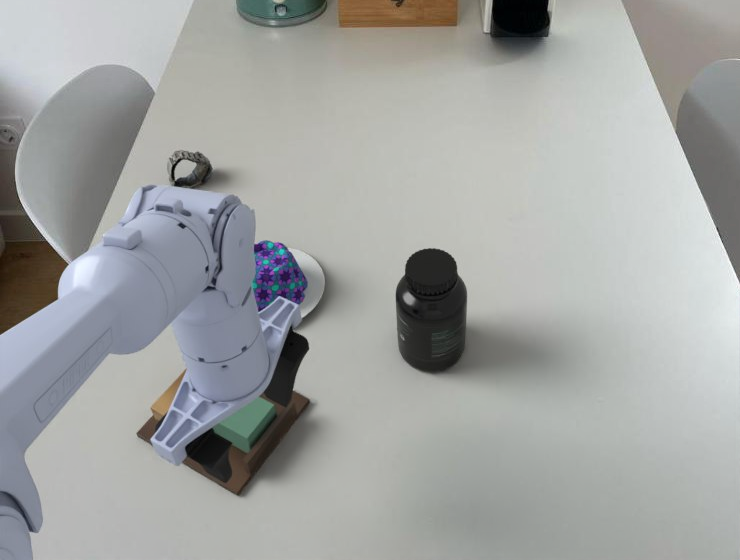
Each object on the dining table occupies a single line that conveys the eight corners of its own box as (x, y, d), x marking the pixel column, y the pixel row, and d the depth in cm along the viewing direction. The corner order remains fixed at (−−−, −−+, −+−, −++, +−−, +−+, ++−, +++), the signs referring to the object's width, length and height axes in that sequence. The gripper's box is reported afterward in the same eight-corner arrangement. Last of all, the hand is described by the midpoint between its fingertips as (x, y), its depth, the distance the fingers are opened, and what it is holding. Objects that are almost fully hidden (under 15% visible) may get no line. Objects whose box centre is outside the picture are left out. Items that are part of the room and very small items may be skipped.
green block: (252, 456, 73) (247, 438, 71) (209, 432, 75) (203, 414, 73) (279, 422, 76) (274, 404, 74) (237, 400, 78) (231, 381, 76)
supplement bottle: (389, 330, 84) (384, 250, 76) (450, 312, 86) (451, 232, 78) (411, 382, 79) (408, 303, 71) (475, 362, 81) (480, 282, 73)
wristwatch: (197, 197, 102) (216, 165, 101) (160, 184, 99) (179, 151, 98) (191, 184, 105) (211, 153, 103) (155, 171, 101) (174, 139, 100)
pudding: (347, 280, 89) (344, 247, 86) (274, 353, 82) (266, 320, 79) (267, 236, 95) (261, 203, 91) (192, 301, 88) (181, 269, 84)
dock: (238, 496, 71) (232, 481, 69) (137, 436, 76) (130, 421, 74) (310, 402, 78) (307, 386, 76) (214, 352, 83) (209, 337, 81)
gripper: (239, 242, 62) (265, 351, 71) (99, 382, 53) (149, 486, 62) (315, 276, 59) (332, 384, 68) (180, 429, 50) (220, 530, 59)
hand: (249, 435), depth 65 cm, fingers open, 7 cm apart
